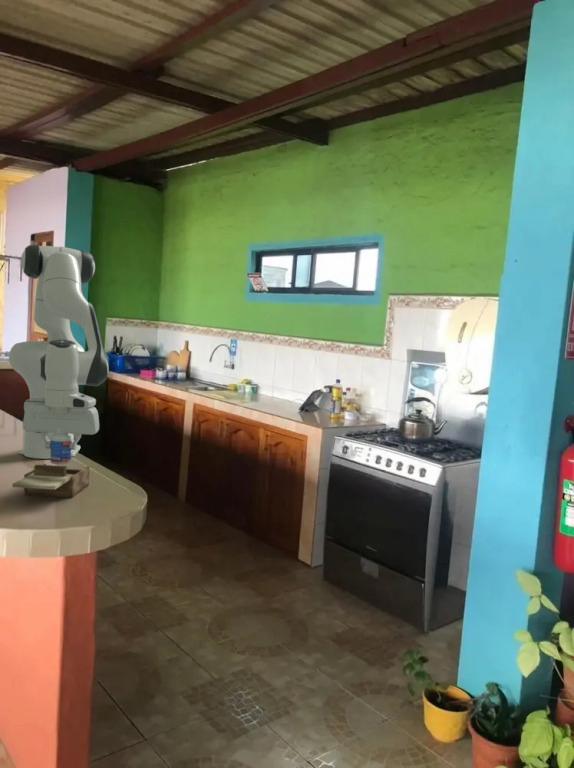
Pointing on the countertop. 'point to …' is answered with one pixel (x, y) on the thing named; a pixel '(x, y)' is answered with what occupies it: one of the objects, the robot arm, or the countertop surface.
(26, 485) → the lid
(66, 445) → the pill bottle
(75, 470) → the lid box
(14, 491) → the countertop surface
